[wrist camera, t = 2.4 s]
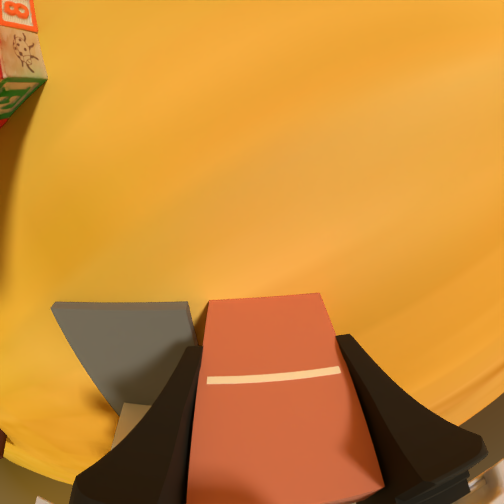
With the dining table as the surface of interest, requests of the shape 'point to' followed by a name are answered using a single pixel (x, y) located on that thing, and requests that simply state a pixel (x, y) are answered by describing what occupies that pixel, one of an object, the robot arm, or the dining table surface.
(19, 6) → the stack of blocks
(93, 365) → the domino mat
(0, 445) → the muffin
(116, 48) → the dining table surface
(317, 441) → the red domino
